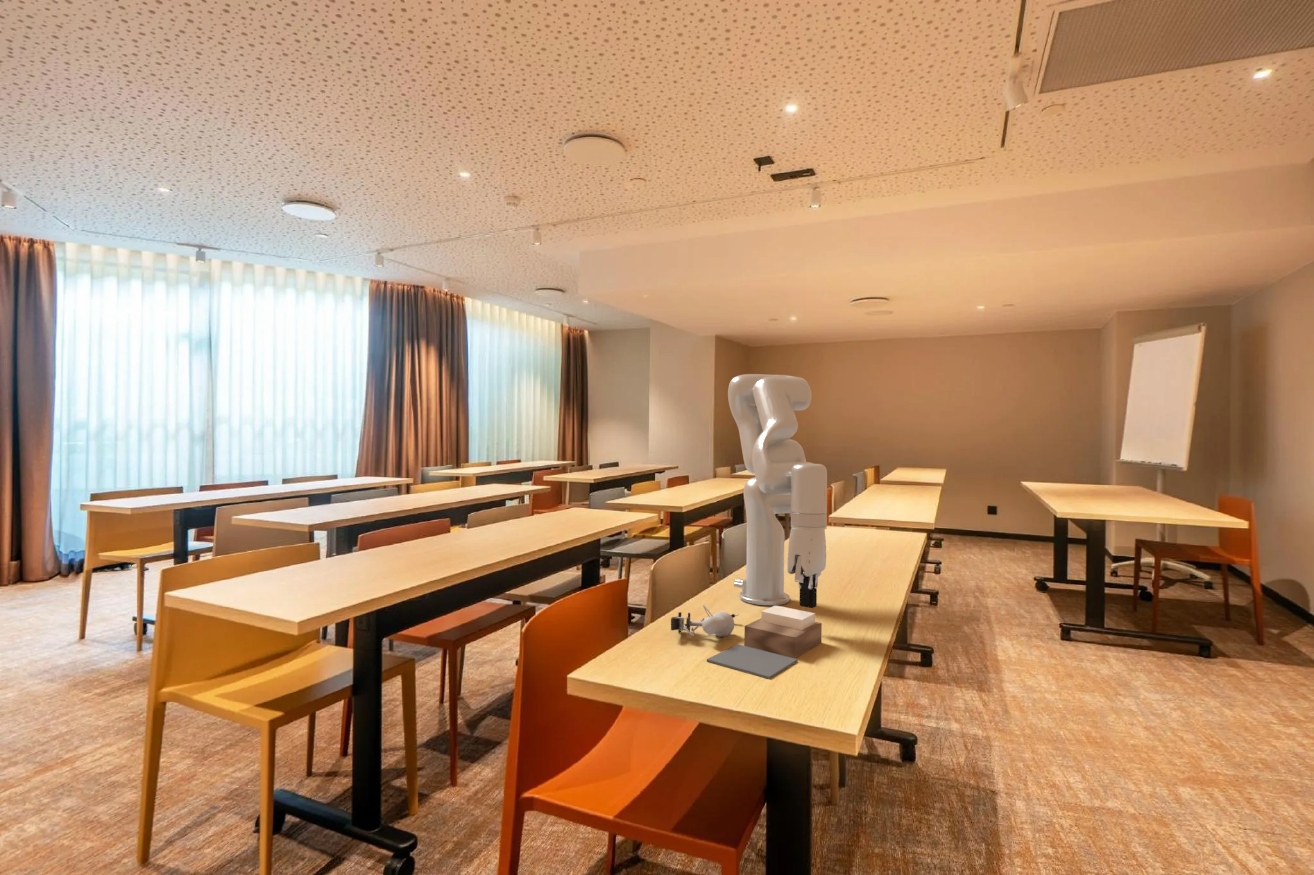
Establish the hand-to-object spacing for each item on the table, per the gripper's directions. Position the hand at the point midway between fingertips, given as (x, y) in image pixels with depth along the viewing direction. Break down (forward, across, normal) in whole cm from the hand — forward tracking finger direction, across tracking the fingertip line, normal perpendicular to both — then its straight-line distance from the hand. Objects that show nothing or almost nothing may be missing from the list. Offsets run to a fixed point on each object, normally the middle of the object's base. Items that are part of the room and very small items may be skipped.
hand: (808, 606), depth 135 cm
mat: (+6, +23, 0) cm, 24 cm away
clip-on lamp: (+6, +14, -16) cm, 22 cm away
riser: (+6, +11, 0) cm, 12 cm away
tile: (+2, +9, 0) cm, 9 cm away
